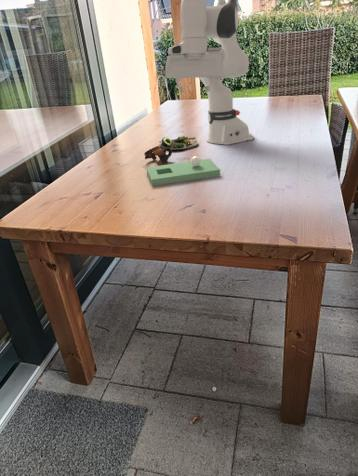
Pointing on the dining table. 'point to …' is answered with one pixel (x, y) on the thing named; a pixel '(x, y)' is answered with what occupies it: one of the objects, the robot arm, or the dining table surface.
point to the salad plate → (177, 143)
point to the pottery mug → (159, 154)
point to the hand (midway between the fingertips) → (194, 91)
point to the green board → (181, 172)
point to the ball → (195, 161)
